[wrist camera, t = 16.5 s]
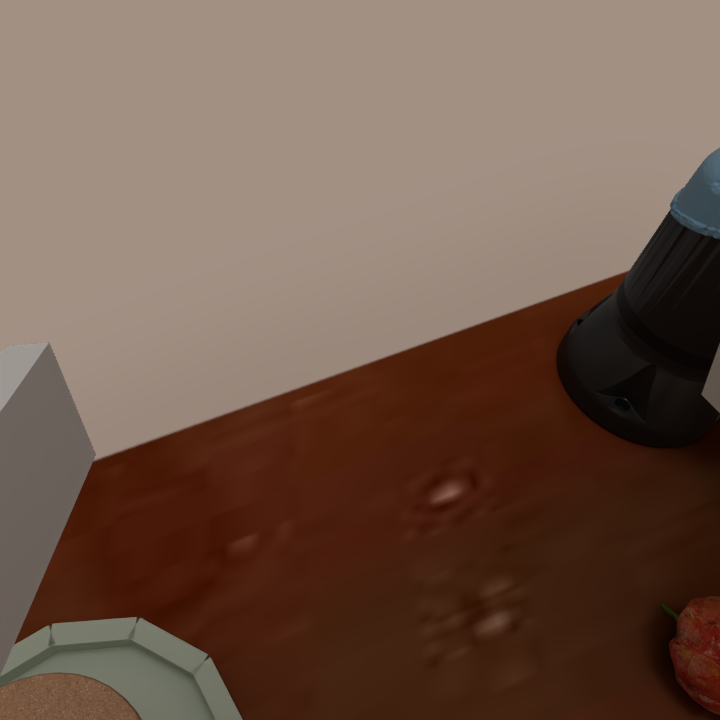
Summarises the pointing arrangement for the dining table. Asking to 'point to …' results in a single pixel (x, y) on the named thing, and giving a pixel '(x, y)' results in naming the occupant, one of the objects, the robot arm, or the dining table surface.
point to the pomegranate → (698, 650)
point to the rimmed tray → (129, 667)
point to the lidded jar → (63, 699)
